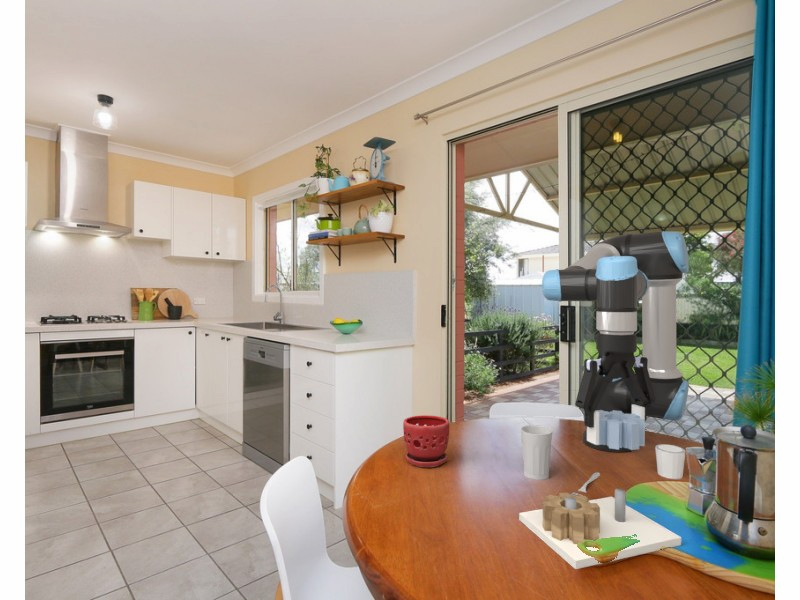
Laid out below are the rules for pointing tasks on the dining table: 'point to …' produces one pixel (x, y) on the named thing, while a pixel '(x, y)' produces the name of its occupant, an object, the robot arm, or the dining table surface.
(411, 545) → the dining table surface
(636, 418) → the gear
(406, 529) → the dining table surface
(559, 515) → the gear
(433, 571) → the dining table surface
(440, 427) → the plant pot
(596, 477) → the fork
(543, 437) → the cup
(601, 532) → the gear board
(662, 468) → the short white tumbler
